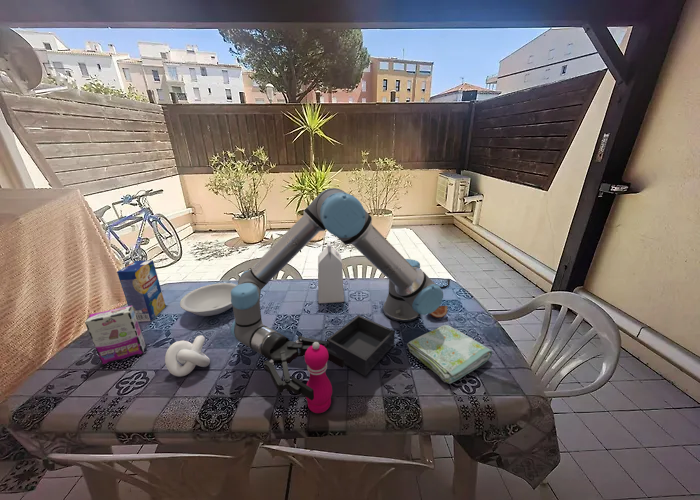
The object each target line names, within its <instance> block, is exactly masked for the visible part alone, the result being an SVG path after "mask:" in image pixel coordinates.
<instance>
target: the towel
mask: <svg viewBox="0 0 700 500" xmlns="http://www.w3.org/2000/svg"><path fill="white" fill-rule="evenodd" d="M406 346H407V347H408V352H409V353H410V354H411V355H413V356H414V357H415V358H417V360H419V361H420V362H421V363H422V364H424V366H426V367H427V368H429V369H430V370H431V371H433V373H434V374H436V375H437V376H438V377H439V379H440V380H441V381H443V383H446V384H449V385H451V384H453V383H455V382H457V381H458V380H460V379H462V378H463V377H465V376H467V375H468V374H470V373H472V372H473V371H475V370H477V369H478V368H480V367H481V366H483V365H485V364H486V363H487V362H488V361H489V360H490V359H491V358H492V356H493V350H492V349H490V348H488V347H487V346H485V345H484V344H483V343H480V342H479V341H477V340H475V339H474V338H472V337H470V336H468V335H466V333H464V332H462V331H460V330H459V329H456V328H454V327H452V326H450V325H448V324H444V325H441V326H438V327H437V328H435V329H433V330H431V331H428V332H426V333H424V334H422V335H419V336H418V337H416V338H414V339H411V340H410V341H409V342H408V343H407V344H406Z"/></svg>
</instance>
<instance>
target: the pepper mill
mask: <svg viewBox="0 0 700 500" xmlns="http://www.w3.org/2000/svg"><path fill="white" fill-rule="evenodd" d="M328 358H329V354H328V351H327V349H326V348H325V347H324V346H323V345H320V344H319V343H318V342H314V343H313V345H312V346H310V347H309V348H308V349H307V350H306V352H305V356H304V362H305V364H306V370H307V372H308V374H309V378H308V380H307V381H306V384H305V385H307V386H309V387H310V388H312V389H313V392H314V399H313V400H310V399H309V398H307V397H306V396H305V399H306V401H307V408H308V409H309V411H311V412H312V413H315V414H321V413H324V412H327V410H328V409H329V408H330V407H331V406H332V405H331V404H332V395H333V386H332V385H333V384H332V382H331V380H330V379H329V377H328V376H327V372H326V371H327V369H328V362H329V361H328Z"/></svg>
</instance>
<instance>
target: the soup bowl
mask: <svg viewBox="0 0 700 500" xmlns="http://www.w3.org/2000/svg"><path fill="white" fill-rule="evenodd" d="M237 285H238V284H237V283H233V282H218V283H210V284H206V285H203V286H201V287H198V288H195V289H193V290H191V291H189V292H188V293H186V294H185V295H184V296H182V298H181V300H180V301H179V306H180V308H181V309H182V310H183V311H185V312H189V313H191V314H193V315H196V316H200V317H211V316H216V315H220V314H222V313H225V312H227V311H228V310H230V309H231V308H233V306H232V303H231V290H232V289H233V288H235V286H237Z"/></svg>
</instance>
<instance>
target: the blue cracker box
mask: <svg viewBox="0 0 700 500" xmlns="http://www.w3.org/2000/svg"><path fill="white" fill-rule="evenodd" d="M116 274H117V277H118V280H119V283H120V285H121V289H122V292H123V294H124V297H125V301H126V303H127V306H133V309H134V312H135V315H136V318H137V321H138V323H140V322H151V321H152V322H153V320H154V319H155V318H156V317H157V316H158V315H159V314H160V313H162V312H163V310H164V309H165V308H166V306H167V305H166V302H165V298H164V294H163V291H162V288H161V284H160V281H159V276H158V273H157V270H156V266H155V262H154V260H153V259H149V260H148V259H146V260H134V261H133V262H131V263H129V264H128V265H126V266H124V267H122V268H121V269H119V270H118V271H116Z"/></svg>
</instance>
